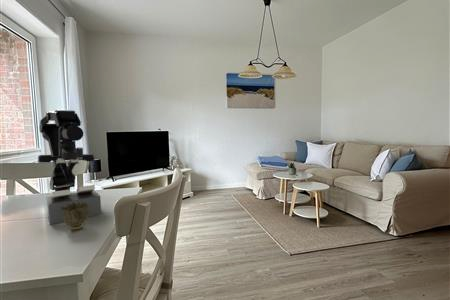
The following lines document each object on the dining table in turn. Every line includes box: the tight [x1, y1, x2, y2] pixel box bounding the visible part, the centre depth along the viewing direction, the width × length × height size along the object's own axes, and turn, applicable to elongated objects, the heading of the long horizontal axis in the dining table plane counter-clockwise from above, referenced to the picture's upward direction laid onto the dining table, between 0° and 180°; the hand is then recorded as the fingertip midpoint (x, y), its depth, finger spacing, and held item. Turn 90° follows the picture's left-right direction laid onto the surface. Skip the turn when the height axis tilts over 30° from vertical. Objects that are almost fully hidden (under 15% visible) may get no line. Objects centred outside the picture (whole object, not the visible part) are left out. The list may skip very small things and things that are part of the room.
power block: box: [46, 189, 102, 225], centre depth 93 cm, size 12×16×7 cm
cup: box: [61, 202, 88, 232], centre depth 79 cm, size 8×7×8 cm
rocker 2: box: [76, 184, 96, 194], centre depth 94 cm, size 8×5×2 cm, turn 38°
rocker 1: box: [51, 189, 71, 197], centre depth 89 cm, size 8×5×2 cm, turn 38°
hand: (67, 179), depth 100 cm, fingers closed
